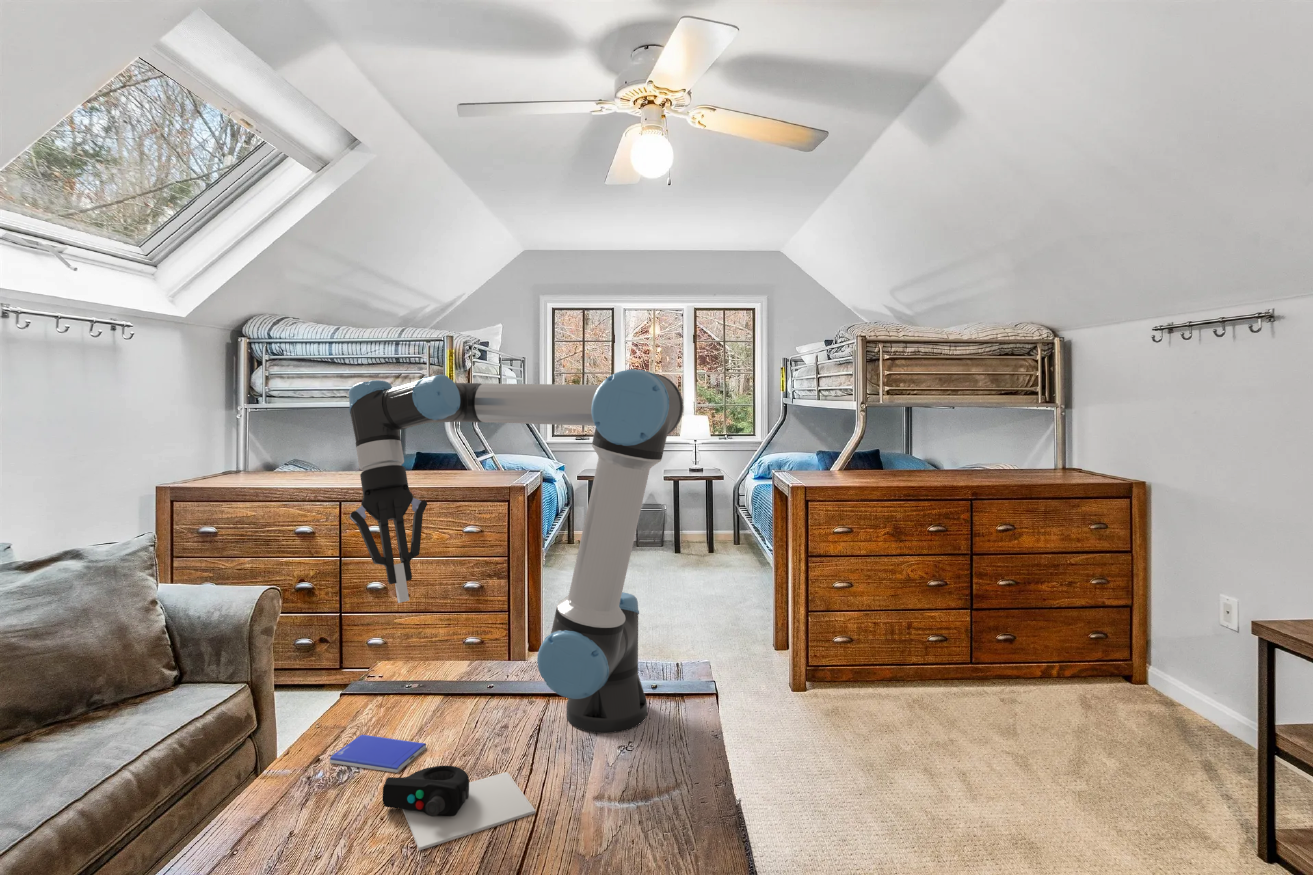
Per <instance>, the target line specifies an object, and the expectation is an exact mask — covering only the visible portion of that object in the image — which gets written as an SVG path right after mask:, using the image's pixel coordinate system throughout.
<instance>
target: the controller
mask: <svg viewBox="0 0 1313 875" xmlns="http://www.w3.org/2000/svg"><path fill="white" fill-rule="evenodd" d="M469 778H470V777H469V775H468V773H467V771H466V770H464V769H462V768H460V767H458V766H454V765H438V766H437V765H436V766H430V767H426V768H422V769H420V770H417V771H415V772H413V773H412V774H410V775H407V776H404V777H403V776H402V777H395V776H394V777H392V776H391V777H390V776H388V777H387V778H386V780H385V782H384V784H383V788H382V803H383V805H384V807H385V808H391V809H399V810H402V809H405V810H412V811H419V812H424V813H426V814H427V815H429V816H448V817H450V816H455V815H456V814H457V812H458V810H459V809H460V808H461V806H462V805H463V803H465V800H466V799H468V797H469V782H470V779H469Z"/></svg>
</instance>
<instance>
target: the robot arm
mask: <svg viewBox="0 0 1313 875" xmlns="http://www.w3.org/2000/svg"><path fill="white" fill-rule="evenodd" d="M348 400H349V401H348V402H349V414H350V418H351V424H352V427H353V428H352V429H353V432H354V433H353V434H354V438H355V448H356V455H357V462H358V468H359V470H361V471H362V472H361V473H360V475H359V476H360V483H361V489H362V500H361V503H360V504H361V506H359V507H358V508H357V509H356V510H354V511H352V512H351V513H350V514H349V519H350V520H351V521H352V522H353V523H354V524H355V525H356V526H357V527H358V530H359V533H360V536H361V537H362V539H363V541H364V542H363V543H364V545H365V547H366V549H367V551H368V553H369V556H370V558H371V561H372V563H373V564H374V565H381V566H384V567H385V571H386V578H387V583H388V584H389V585H395V586H394V587H395V592H396V598H397V599H396V600H397V604H400V603H405V602H409V601H410V597H409V591H408V585H407V584H408V583H407V582H409V581H412V578H413V574H412V568H411V561H412V559H414V558H416V557H418V556H420V553H421V540H422V528H423V515H424V512H425V510H426V509H427V506H428V502H427V501H426V500H420V499H418V498H415V497H414V494H413V493H412V491H411V490H410V488H409V482H408V475H407V469H406V467H405V466H403V464H404V463H405V458H404V457H405V456H404V451H403V445H402V439H401V432H400V431H401V430H405V429H408V428H412V427H416V426H421V425H424V424H431V423H433V424H434V423H435V424H438V423H493V424H494V423H496V424H499V423H500V424H527V425H556V426H562V425H563V426H586V427H587V426H588V427H589V426H591V427H595V428H594V433H593V438H592V443H591V447H592V448H593V450H594V451H595V453H596V455H597V458H598V459H597V464H596V467H595V472H594V476H593V482H592V486H591V492H590V495H589V496H590V497H589V500H588V504H587V508H586V509H587V510H586V513H585V518H584V523H583V528H582V532H581V537H580V542H579V547H578V551H577V554H576V559H575V560H576V561H575V565H574V570H573V573H572V574H573V575H572V578H571V583H570V587H569V588H570V589H569V593H568V595H567V596H566V597H564V598H563V599H561V600H559V601H558V602H557V604H556V609H555V613H554V617H553V622H552V627H551V631H550V633H549V635H547V636H546V637H545V638H544V640H543V641H542V643H541V645H540V646H539V649H538V652H537V658H536V660H537V663H536V664H537V668H538V672H539V675H540V676H541V678H542V679H543V680H544V682H545V684H546V686H547V687H548V688H549V689H550V690H551V691H552V692H554V693H555V694H557V695H559V696H561V697H563V698H567V701H566V719H567V722H568V723H569V724H571V726H573V727H575V728H577V729H579V730H582V731H586V732H588V733H589V732H590V733H596V734H597V733H598V734H599V733H600V734H602V733H603V734H604V733H605V734H607V733H608V734H609V733H610V734H611V733H619V732H623V731H627V729H628V730H630V729H631V730H632V729H633V728H632V727H634V728H635V726H636V725H638V724H639V723H641V722H642V721H643V720H644V719H645V718H646V719H647V717H646V716H648V700H647V697H646V694H645V691H644V688H643V685H642V681H641V679H640V678H641V677H640V676H639V615H640V610H639V602H638V601H639V600H638V599H637V597H636V596H635V595H633V594H632V593H628V592H623V589H624V585H625V582H626V577H627V574H628V573H627V572H628V568H629V564H630V558H631V556H632V552H633V551H632V549H633V546H634V541H635V536H636V532H637V527H638V524H639V519H640V514H641V511H642V506H643V501H644V496H645V492H646V489H647V488H646V487H647V485H648V484H647V483H648V480H649V474H650V470H651V468H652V467H654V466H656V465H657V464H658V463H660V462H661V461H662V460H663V455H664V450H665V447H666V442H667V438H668V435H670V434H671V433H672V432H673V431H675V430H676V428H677V427H678V425H679V423H680V422H681V419H682V417H683V413H684V400H683V396H682V394H681V391H680V390H679V388H678V386H677V385H676V384H675V383H674V381H672V380H671V379H669V378H668V377H667V376H664V375H661V374H658V373H654V372H651V371H646V370H644V369H635V368H631V369H625V370H620V371H617V372H615V373H613V374H611V375H609V376H608V377H607V378H605V379H604V380H603V381H602V382H601V383H600V384H565V383H564V384H559V383H558V384H555V383H548V384H547V383H545V384H544V383H486V382H485V383H481V382H480V383H479V382H476V383H475V382H455V381H454V380H453V379H450V378H449V376H448V375H446V374H436V375H433V376H425V377H422V378H420V379H417V380H415V381H412V382H411V381H410V382H408V383H405V384H402V385H398V386H396V387H393V386H392V384H391V383H390V382H388V381H385V380H380V379H379V380H368V381H362V382H358V383H356V384H354V385H352V386H351V387H350V388H349V391H348ZM411 505H412V506H411ZM410 506H411V510H412V511H413V512H414V513H413V517H412V527H411V528H412V529H411V539H410V551H409V547H408V541H407V535H406V529H405V519H404V516H405V515H406V512H407V511H408V509H409V508H410ZM366 513H367V514H369V515H370V517H372V518H373V519H374V520H375V521H377V524H378V528H379V535H380V541H381V548H382V549H381V550H382V555H383V556H382V555H381V553H380V551H379V549H378V546H377V544H376V541H375V539H374V536H373V535H372V532H371V529H370V527H369V525H368V523H367V521H366V520H365V519H366V518H367V515H366ZM390 520H391V521H392V520H393V525H394V529H395V537H396V542H397V548H398V554H399V559H400V563H396V564H395V563H394V562H395V561H394V559H395V558H394V554H393V553H394V552H393V547H392V546H393V545H392V540H391V534H390V528H389V526H390V525H389V521H390ZM646 719H645V720H646ZM645 720H644V721H645ZM644 721H643V722H644ZM643 722H642V723H643ZM642 723H641V724H642ZM639 725H640V724H639ZM639 725H638V726H639ZM636 727H637V726H636Z"/></svg>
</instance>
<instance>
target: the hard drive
mask: <svg viewBox="0 0 1313 875" xmlns="http://www.w3.org/2000/svg"><path fill="white" fill-rule="evenodd" d="M426 749H427V743H424V742H416V741H412V740H411V741H410V740H402V739H398V738H397V739H395V738H388V737H382V736H375V735H367V734H361V735H358V737H356V738H354V739H353V740H352V741H349V743H348V744H346V745H345V746H343V747H342V748H340V749H339V750H337V751H336V752H335V753H334V754H332V755H331V756H330V757H329V764H335V765H336V764H337V765H341V766H342V765H343V766H349V767H354V766H355V768H363V769H367V770H368V769H369V770H376V771H384V772H391V773H394V774H395V773H399V772H400V771H401V770H402V769H403V768H405V767H406V766H407V765H409V763H410V762H412V761H413V760H414V759H415V758H416V757H417V756H419V755H420V754H421V753H422V752H424V751H425V750H426Z"/></svg>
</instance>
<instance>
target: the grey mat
mask: <svg viewBox="0 0 1313 875" xmlns="http://www.w3.org/2000/svg"><path fill="white" fill-rule="evenodd" d="M401 810H402V812H403V815H404V817H405V820H406V822H407V824H408V827H409V829H410V832H411V834H412V836H413V840H414V842H415V844H416V847H417V849H418V851H422V850H424V849H425V850H426V849H428V848H432V847H435V846H438V845H441V844H444V843H447V842H450V841H453V840H456V839H459V838H463V837H466V836H468V835H472V834H475V833H478V832H481V831H485V830H488V829H491V828H494V827H497V826H499V825H503V824H506V823H509V822H512V821H515V820H519V819H521V818H524V817H527V816H531V815H533V814H534V815H535V814H536V809H535V808H534V806H533V805H532V804H531V802H530V801H529V799H528V798H527V797H526V795H525V794H524V793H523V791H522V789H520V787H519V786H518V783H516V782H515V780H514V779H513V778H512V776H511V775H510V773H509V772H508V771H505V772H501V773H498V774H494V775H491V776H488V777H485V778H481V779H476V780H473V781H469V797H468V799H466V800H465V803H463V805H462V806H461V808H460V809H459V810H458V812H457V814H456V815H455V816H450V817H448V816H429V815H427V814H426V813H424V812H419V811H412V810H405V809H401Z"/></svg>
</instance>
